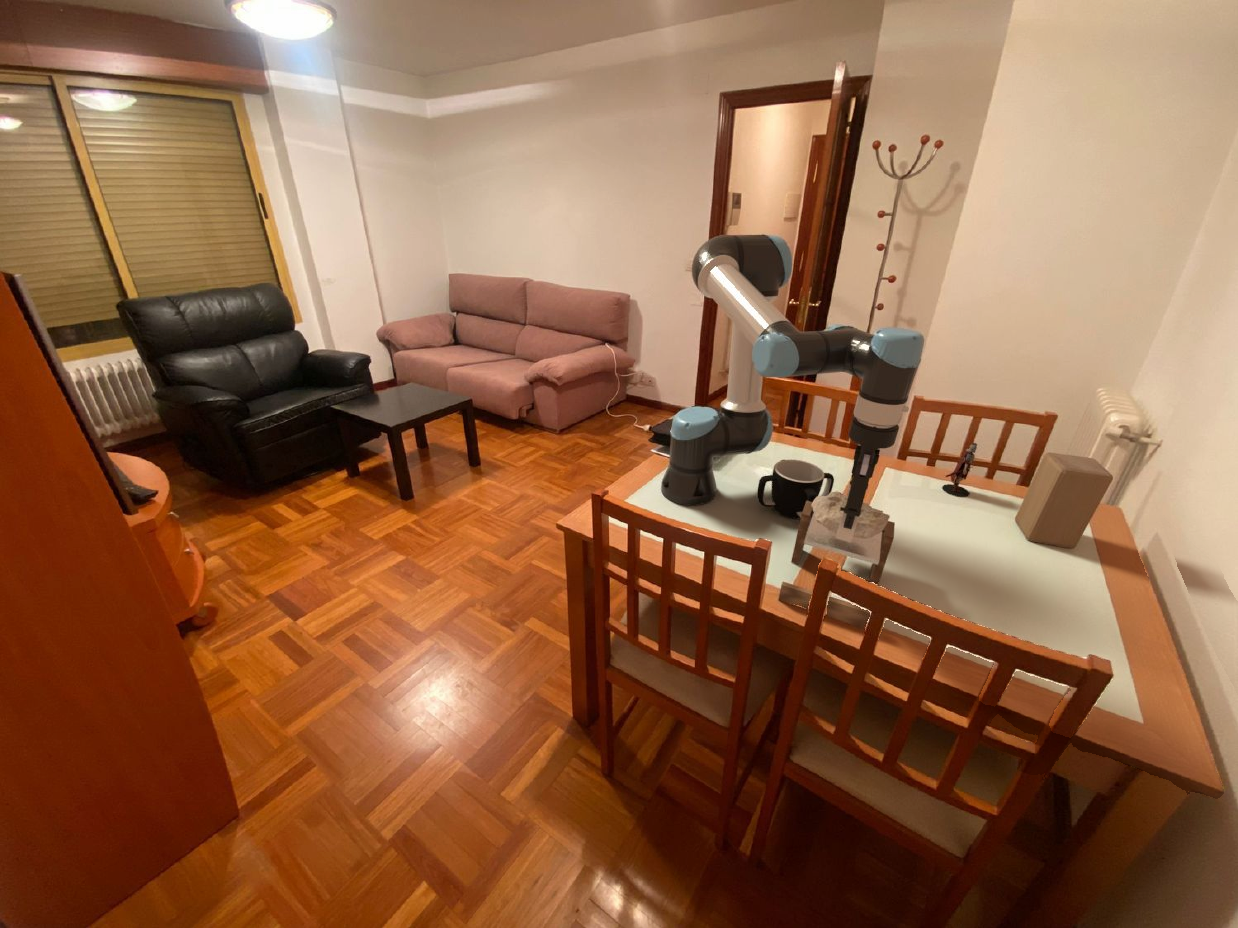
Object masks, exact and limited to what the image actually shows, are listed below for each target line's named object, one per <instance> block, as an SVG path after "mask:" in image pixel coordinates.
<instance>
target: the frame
mask: <svg viewBox="0 0 1238 928" xmlns="http://www.w3.org/2000/svg"><path fill="white" fill-rule="evenodd" d="M812 503H813V502H810V501H806V504H805V506H804V509H803V512H802V515H801V520H799V525H798V529H797V534H796V538H795V542H794V547H793V552H792V556H791V561H790V563H792V564H796V565H799V563H800V561H801V558H802V553H803V551H804V547H805V544H804V541H805V538H806V535H807V532H808V528H809V525H810V522H811V519H812V518H811V514H812V515H813V513H814V512H812V509H813V508H812V506H811V505H812ZM810 518H811V519H810ZM894 537H895V522H894V521H890V520H888V522H887V524H886V526H885V528H884V529H883V531H882V537H881V548H880V559H879V563H878V565H877V564H873V563H871V567H870V572H869V578H870V579H868V582H869V581H870V582H874V583H875V584H878V585H879V583H880V580H881V577H882V574H883V571H884V569H885V565H886V562H887V559H888V556H889V554H890V551H891V548H892V545H893V542H894V539H895V538H894ZM813 591H814V590H811V589H808V588H805V587H802V586H798V585H795V584H792V583H789V582H786V581H782V582H781V586H780V590H779V595H778V599H777V601H779V602H782V601H783V603H785V602H787V603H786V604H788V603H791V604H795V605H799V606H802V607H804V608H806V609H805V610H806V611H809V610H808V606H809V601H810V599H811V596H812V592H813ZM851 603H852V602H848V601H845V600H842V599H840V598H837V597H833V596H830V597H829V601H828V605H827V614H826V616H825V617H828V618H831V619H833V620H837V621H840V622H843V623H845V624H849V625H852V626H853V627H858V628H861V629H863V630H866V629H865V627H866V624H867V621H868V619H869V617H870V612H869V611H868V610H864V609H861V608H860V607H858V606H856V605H857V604H856V605H852V604H853V603H852V604H851ZM791 604H790V605H791Z"/></svg>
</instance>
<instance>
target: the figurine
mask: <svg viewBox="0 0 1238 928" xmlns="http://www.w3.org/2000/svg"><path fill="white" fill-rule="evenodd" d="M977 446H978V444H977V443H975V442H972V443H971V444H970V445H969V448H966V449H965V450H964V451H963V453H962V457H961V460H960V461H959V463H958V464H957V466H956V467H955V469H954V470H953V472H951V473H949V474H947V475H945V478H948V477H950V478H951V479H950V481H951V482H952V484H950V483H948V484H944V485H942V487H941V488H942V490H943V492H944V493H947V494H949V495H952V496H955V497H958V498H959V497H960V498H965V497H966V498H967V497H969V496H970V491H969V490H968V489H966V488H965V487H963V486H959V485H960V482H962V481H963V480H965V481H966V479H967V477H968V474H969V472H971V471H970V470H971V469H972V468H974V466H973V465H972V466H971V464H972V463H973V462H974V461H975V460H974V459H975V456H976V455H975V454H974V453H976V452H977V451H976V450H977Z"/></svg>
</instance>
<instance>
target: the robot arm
mask: <svg viewBox="0 0 1238 928" xmlns="http://www.w3.org/2000/svg"><path fill="white" fill-rule="evenodd" d="M792 256H793V255H792V252H791V248H790V247H789V246H788V243H787V242H786V240H785V239H784V238H782V237H781V236H778V235H775V234H771V235H770V234H764V233H762V234H733V235H731V234H721V235H717V236H714V237H712V238H710V239H708V240H706V241H705V242H704V243H703V244H702V245H701V246H700V247H699V248H698V250H697V251H696V253H695V254H694V256H693V260H692V264H691V277H692V280H693V283H694V285H695V287H696V288H697V290H699V292H700V293H701V295H703V296H704V297H706V298H709V299H713V301H714V302H715V303H716V304H717V305H718V306H719V308H720V309H721V310H722V311H723V312H724V313H725V315H726V316H727V317H728V318H729V319H730V320H731V322H732V326H731V327H732V329H731V331H732V332H731V339H730V340H731V342H730V353H729V364H728V365H729V366H728V377H727V378H728V379H727V393H726V394H727V395H726V398H725V399H724V400H722V401H721V403H720V407H719V409H720V410H719V412H718V411H717V410H715V408H711V407H709V406H708V407H707V406H704V407H703V406H691V407H686V408H683V409H681V410H680V411H678V412H677V413H676V414H675V415H674V416H673V419H672V424H671V429H670V443H669V444H670V446H669V447H670V448H669V462H668V463H669V464H668V466H667V469H666V470H665V473H664V475H663V477H662V479H661V484H660V485H661V486H660V490H661V493H662V495H663V496H664V497H665V498H666V499H668V500H669V501H672V502H673V503H676V504H679V505H683V506H700V505H704V504H705V505H706V504H707V503H710V502H711V501H713V500H714V499H715V497H716V495H717V483H716V482H717V481H716V479H715V474H714V470H713V465H714V459H715V458H718V457H725V456H727V457H728V456H735V455H742V454H743V455H744V454H746V455H748V454H752V453H757V452H760V451H762V450H763V449H765V448H767V446H768V445H769V444H770V441H771V439H772V436H773V431H774V422H772V419H773V418H772V415H771V413H770V412H769V411H768V410H767V409H766V404H765V403H764V402H763V401H762V399H761V398H762V391H763V390H762V389H763V379H764V378H778V379H784V378H789V377H800V376H808V375H823V374H832V373H833V374H834V373H835V374H836V373H847V374H849V375H850V376H854V377H855V378H858V379H860V380H861V385H860V388H859V392H858V395H857V398H856V402H855V406H854V410H853V415H854V416H853V418H852V419H851V422H850V426H849V429H848V430H849V431H848V438H849V439H850V440H851V441H852V442H854V443H855V444H856V447H855V451H854V454H853V465H852V469H851V479H850V481H849V484H850V485H849V486H848V488H847V492H846V496H848V499H847V503H846V506H845V507H841V508H840V510H841V511H843V514H842V518H841V521H840V525H839V529H838V532H837V536H836V539H840V540H843V541H847V542H852V538H853V535H854V531H855V528H856V525H857V521H858V518H859V516H860V514H861V508H862V504H863V503H864V500H865V496H866V493H867V490H868V488H869V481H870V479H871V478H873V475H874V471H875V468H876V465H877V464H878V462H879V458H880V452H881V449H889V448H891V447H893V446H894V444H895V443H896V439H897V438H898V433H899V430H900V425H899V424H900V423H901V422H902V418H903V415H904V413H908V412H909V410H910V407H909V406H908V405H907V402H908V400H909V395H910V393H911V388H912V385H913V383H914V380H915V376H916V374H917V371H918V368H919V366H920V364H921V361H922V354H923V349H924V345H925V337H924V335H923V334H922V333H921V332H919V331H916V330H913V329H910V328H908V329H906V328H904V327H903V328H902V327H893V326H891V327H890V326H889V327H888V326H887V327H880V328H878V329H877V330H875V332H874V334H872V333H869V332H867V331H865V330H861V329H858V328H857V327H854V326H852V325H844V324H838V323H837V324H833V325H830V326H829V327H828V328H826V329H823V330H814V331H802V330H801V331H800V330H799V329H798V328H797V327H796V326H795V325H794V324H793V323H792V322H791V321H790V320H789V319H788V318H787V317H786V316H785V315H784V314H782V312H780V310H779V309H778V308H777V307H776V306H775V305H773V302H774V301H775V300H776V299H777V298H778V297H779V290H780V289H781V288H783V287H784V286H786V285H787V284H788V281H789V279H790V278H791V275H792V271H793V257H792Z"/></svg>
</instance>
